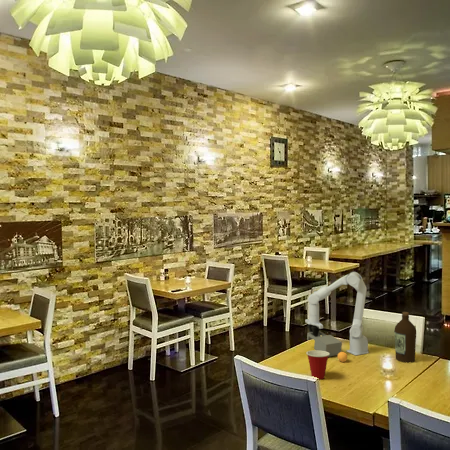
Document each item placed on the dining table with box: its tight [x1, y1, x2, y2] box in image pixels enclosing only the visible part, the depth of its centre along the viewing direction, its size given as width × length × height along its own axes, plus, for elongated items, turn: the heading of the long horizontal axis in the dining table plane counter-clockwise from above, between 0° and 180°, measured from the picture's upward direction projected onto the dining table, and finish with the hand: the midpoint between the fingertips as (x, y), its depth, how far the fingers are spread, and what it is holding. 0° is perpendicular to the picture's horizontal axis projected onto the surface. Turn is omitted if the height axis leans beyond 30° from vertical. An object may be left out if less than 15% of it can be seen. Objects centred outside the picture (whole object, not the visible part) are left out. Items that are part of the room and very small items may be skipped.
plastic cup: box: [305, 349, 330, 381], centre depth 208 cm, size 11×11×12 cm
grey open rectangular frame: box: [306, 330, 343, 358], centre depth 244 cm, size 10×19×7 cm, turn 24°
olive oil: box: [393, 311, 417, 364], centre depth 230 cm, size 11×11×25 cm
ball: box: [337, 351, 348, 363], centre depth 229 cm, size 5×5×5 cm
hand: (314, 338), depth 252 cm, fingers closed on grey open rectangular frame
